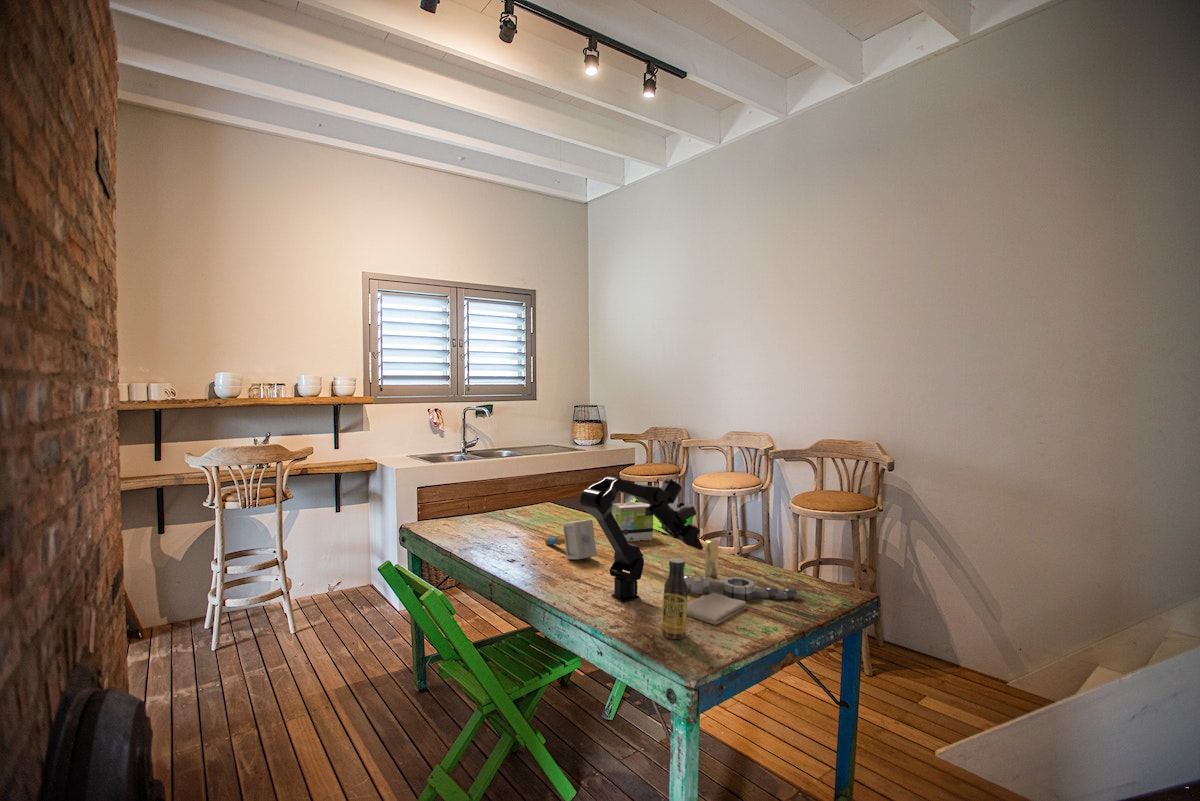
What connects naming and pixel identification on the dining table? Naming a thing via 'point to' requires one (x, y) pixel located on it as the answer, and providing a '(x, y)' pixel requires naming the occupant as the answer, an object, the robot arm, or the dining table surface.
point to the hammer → (577, 539)
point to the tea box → (633, 520)
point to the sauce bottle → (675, 601)
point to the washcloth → (714, 608)
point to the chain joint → (736, 588)
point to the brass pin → (711, 558)
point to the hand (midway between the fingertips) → (695, 545)
